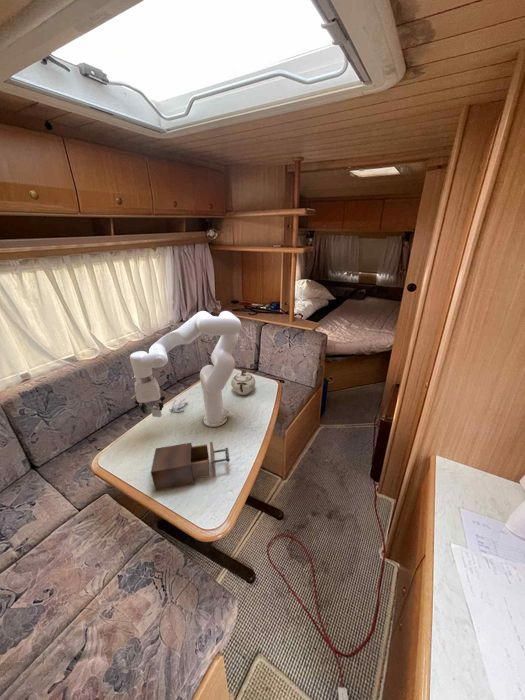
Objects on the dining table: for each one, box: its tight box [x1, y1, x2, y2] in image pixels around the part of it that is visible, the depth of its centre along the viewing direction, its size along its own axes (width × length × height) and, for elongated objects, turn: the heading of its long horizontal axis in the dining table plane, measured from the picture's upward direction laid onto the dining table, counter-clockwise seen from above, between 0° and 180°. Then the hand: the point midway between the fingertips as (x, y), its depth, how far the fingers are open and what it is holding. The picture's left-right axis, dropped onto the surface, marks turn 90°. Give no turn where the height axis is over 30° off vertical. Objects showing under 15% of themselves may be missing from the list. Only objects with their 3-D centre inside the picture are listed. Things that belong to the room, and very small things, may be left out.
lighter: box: [144, 402, 163, 418], centre depth 130 cm, size 7×2×8 cm, turn 79°
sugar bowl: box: [230, 369, 256, 396], centre depth 169 cm, size 20×15×15 cm
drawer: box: [191, 441, 230, 480], centre depth 114 cm, size 20×11×8 cm, turn 102°
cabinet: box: [150, 442, 195, 492], centre depth 112 cm, size 15×13×10 cm
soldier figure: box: [168, 398, 189, 413], centre depth 156 cm, size 8×5×12 cm
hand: (153, 409), depth 130 cm, fingers closed on lighter, 7 cm apart
